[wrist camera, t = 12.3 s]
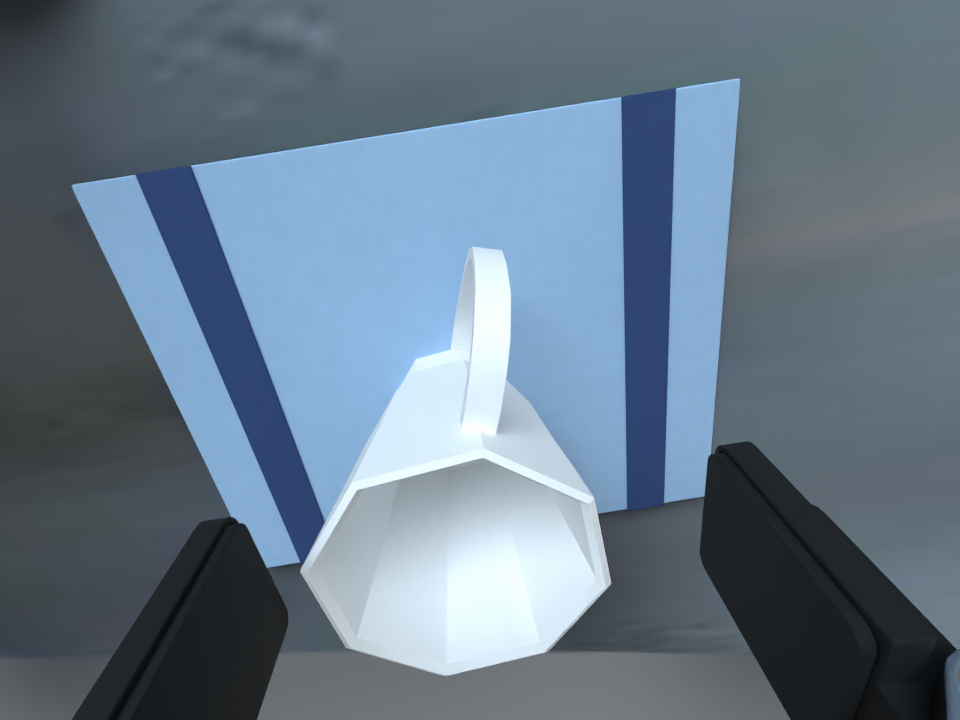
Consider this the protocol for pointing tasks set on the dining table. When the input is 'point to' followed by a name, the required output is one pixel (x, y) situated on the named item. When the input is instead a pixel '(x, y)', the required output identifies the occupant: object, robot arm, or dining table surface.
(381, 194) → the towel
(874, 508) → the dining table surface
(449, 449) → the cup
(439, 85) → the dining table surface
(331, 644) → the dining table surface
